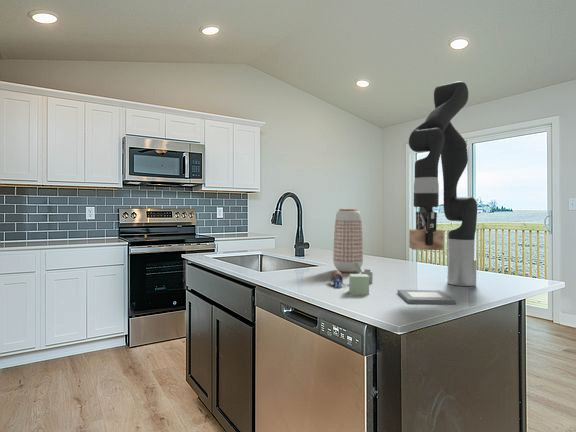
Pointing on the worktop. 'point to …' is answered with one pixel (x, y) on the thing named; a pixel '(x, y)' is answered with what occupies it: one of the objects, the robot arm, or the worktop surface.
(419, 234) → the base block
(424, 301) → the baseplate
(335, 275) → the figurine
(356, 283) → the top block
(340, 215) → the patterned vase
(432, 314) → the worktop surface
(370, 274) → the lighter
